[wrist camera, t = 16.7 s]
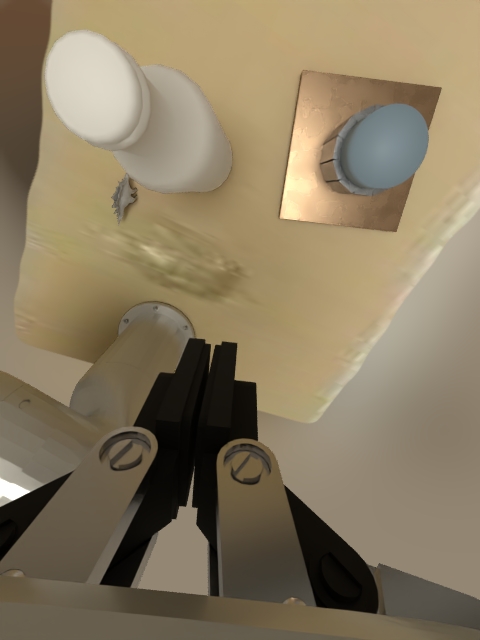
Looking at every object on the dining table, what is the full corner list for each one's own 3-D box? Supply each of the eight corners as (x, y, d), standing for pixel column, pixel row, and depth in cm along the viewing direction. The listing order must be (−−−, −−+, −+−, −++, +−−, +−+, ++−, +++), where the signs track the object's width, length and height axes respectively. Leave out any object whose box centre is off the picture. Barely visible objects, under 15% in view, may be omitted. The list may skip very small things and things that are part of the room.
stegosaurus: (116, 221, 42) (101, 225, 38) (124, 169, 40) (109, 166, 35) (133, 227, 43) (120, 231, 38) (142, 175, 40) (129, 174, 36)
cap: (380, 191, 36) (413, 192, 29) (325, 185, 36) (344, 184, 29) (398, 126, 33) (440, 108, 26) (338, 118, 33) (363, 98, 26)
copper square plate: (391, 230, 42) (421, 239, 34) (278, 217, 41) (284, 223, 34) (434, 91, 35) (482, 66, 28) (300, 74, 35) (314, 44, 28)
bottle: (245, 167, 39) (232, 117, 12) (198, 204, 41) (93, 236, 14) (208, 108, 36) (79, -136, 9) (160, 150, 38) (-62, 56, 11)
